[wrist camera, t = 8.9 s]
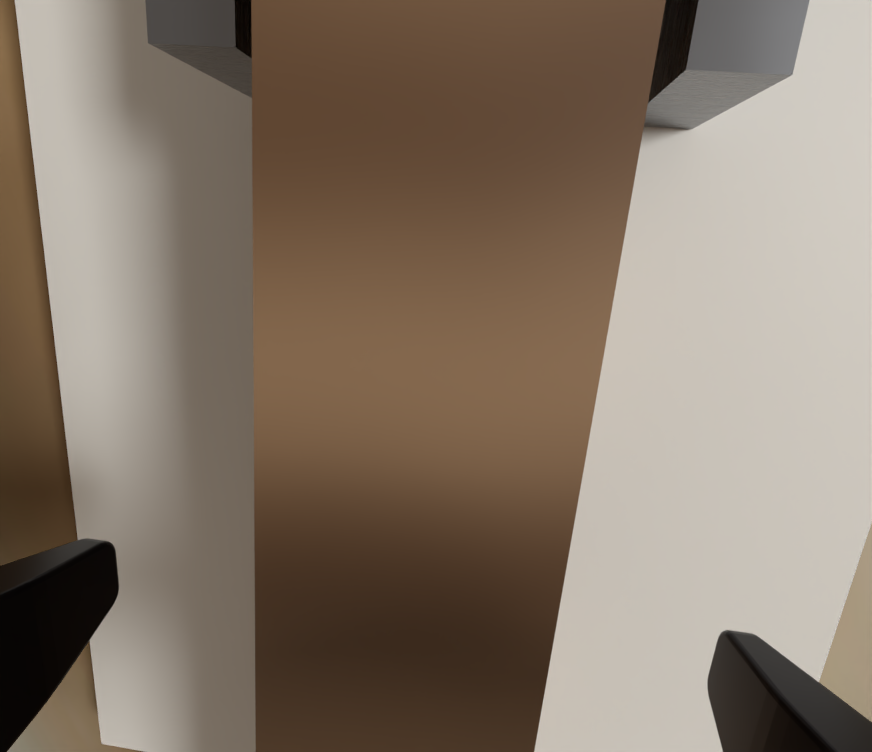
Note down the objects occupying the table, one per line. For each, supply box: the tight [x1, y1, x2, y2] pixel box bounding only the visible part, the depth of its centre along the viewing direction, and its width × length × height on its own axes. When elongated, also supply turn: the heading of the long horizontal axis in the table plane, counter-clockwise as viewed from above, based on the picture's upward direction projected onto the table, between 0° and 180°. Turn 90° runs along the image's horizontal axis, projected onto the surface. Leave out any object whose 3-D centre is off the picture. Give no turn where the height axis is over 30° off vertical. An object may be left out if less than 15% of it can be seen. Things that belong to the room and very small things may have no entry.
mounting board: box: [15, 0, 872, 752], centre depth 12 cm, size 23×18×1 cm
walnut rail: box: [251, 0, 666, 752], centre depth 9 cm, size 22×4×5 cm, turn 175°
